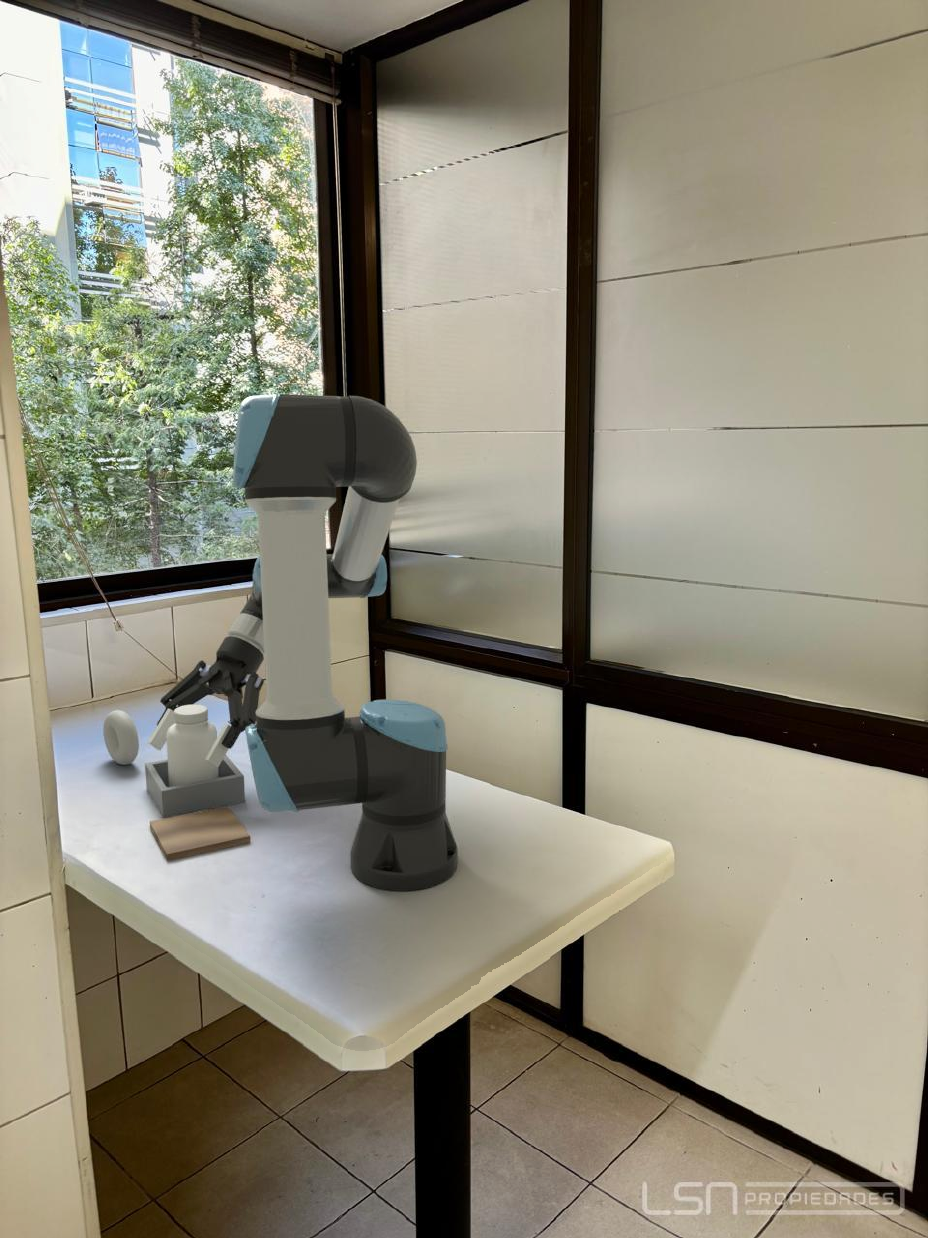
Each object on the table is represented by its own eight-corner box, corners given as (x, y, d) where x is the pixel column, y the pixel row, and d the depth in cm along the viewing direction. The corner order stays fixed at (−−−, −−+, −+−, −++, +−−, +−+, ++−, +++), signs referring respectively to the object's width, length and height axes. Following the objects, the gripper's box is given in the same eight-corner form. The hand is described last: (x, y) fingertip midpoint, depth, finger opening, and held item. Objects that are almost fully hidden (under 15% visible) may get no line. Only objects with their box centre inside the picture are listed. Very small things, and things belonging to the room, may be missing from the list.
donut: (102, 758, 166) (98, 706, 164) (120, 753, 168) (116, 702, 166) (125, 774, 159) (121, 720, 157) (144, 769, 161) (140, 715, 159)
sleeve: (245, 801, 148) (243, 775, 147) (163, 818, 142) (161, 791, 141) (223, 774, 159) (222, 750, 158) (146, 788, 153) (144, 763, 152)
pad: (250, 842, 134) (250, 836, 134) (167, 860, 128) (166, 854, 128) (228, 811, 144) (227, 805, 144) (150, 827, 139) (149, 821, 138)
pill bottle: (212, 805, 147) (207, 717, 143) (162, 804, 147) (156, 716, 144) (225, 786, 154) (221, 701, 151) (178, 785, 155) (173, 701, 151)
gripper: (311, 669, 153) (250, 781, 143) (207, 647, 165) (145, 749, 156) (288, 644, 147) (223, 760, 138) (183, 624, 160) (117, 729, 151)
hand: (181, 755), depth 147 cm, fingers open, 13 cm apart
